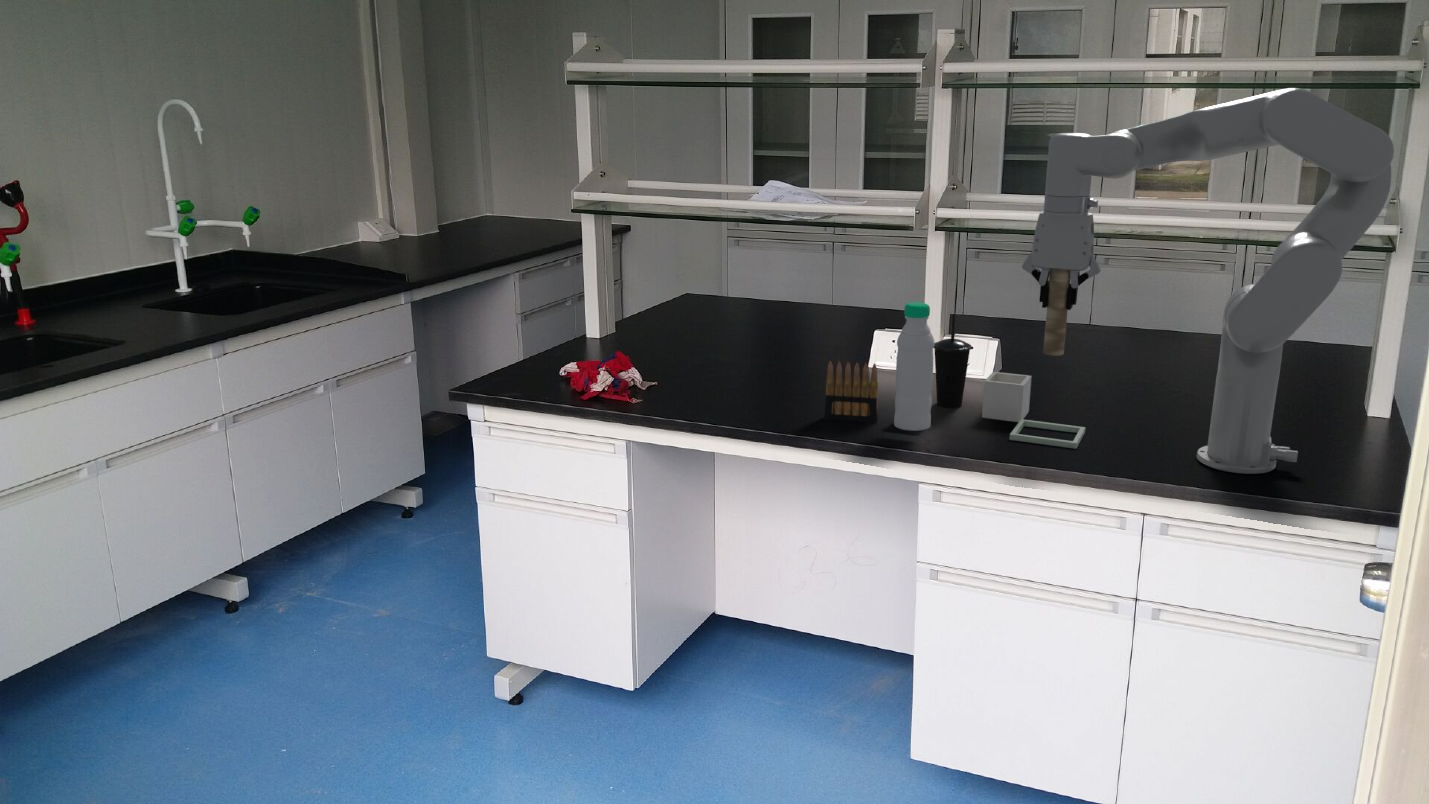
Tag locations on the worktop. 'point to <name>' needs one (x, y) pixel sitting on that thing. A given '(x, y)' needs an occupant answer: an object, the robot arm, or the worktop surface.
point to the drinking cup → (951, 369)
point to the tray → (1047, 441)
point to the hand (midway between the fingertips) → (1057, 306)
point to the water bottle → (914, 370)
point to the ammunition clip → (851, 395)
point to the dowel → (1056, 312)
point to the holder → (1006, 396)
